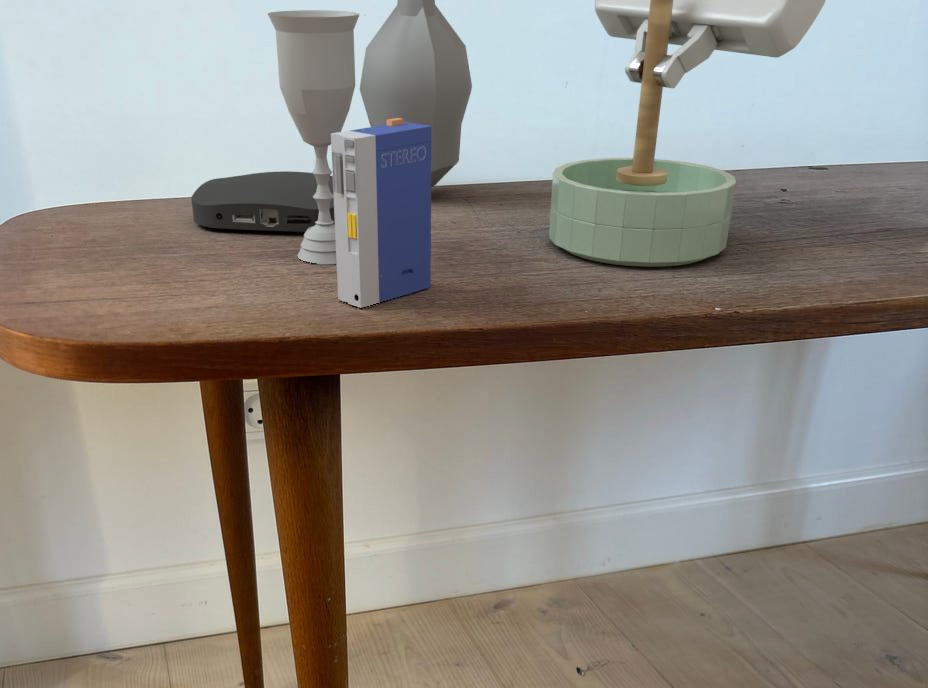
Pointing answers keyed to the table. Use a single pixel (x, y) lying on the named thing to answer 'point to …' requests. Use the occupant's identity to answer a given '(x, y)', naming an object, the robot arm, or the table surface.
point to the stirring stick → (649, 102)
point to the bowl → (641, 213)
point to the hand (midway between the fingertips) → (647, 79)
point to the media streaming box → (260, 202)
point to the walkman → (382, 211)
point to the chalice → (317, 99)
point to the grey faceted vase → (419, 78)
